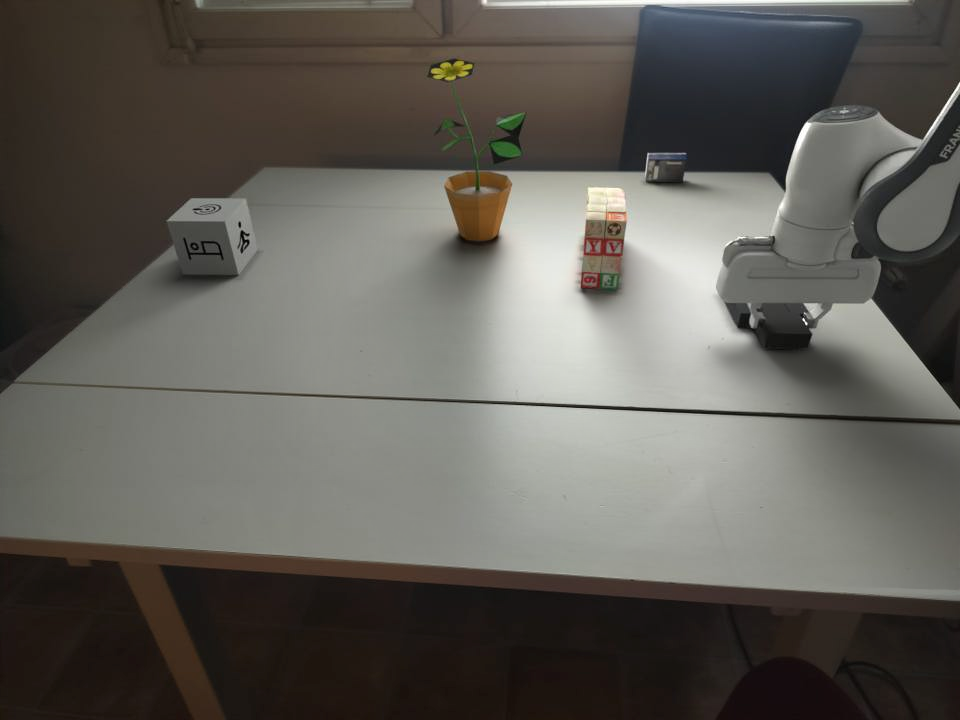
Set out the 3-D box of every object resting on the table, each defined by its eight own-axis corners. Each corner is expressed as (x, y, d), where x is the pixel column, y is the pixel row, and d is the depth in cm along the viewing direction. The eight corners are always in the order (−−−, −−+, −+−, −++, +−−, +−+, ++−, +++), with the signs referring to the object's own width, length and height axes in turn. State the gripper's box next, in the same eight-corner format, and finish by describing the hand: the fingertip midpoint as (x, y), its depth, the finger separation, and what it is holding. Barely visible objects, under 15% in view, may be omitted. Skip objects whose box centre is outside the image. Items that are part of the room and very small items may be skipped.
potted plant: (412, 233, 128) (397, 67, 111) (484, 207, 138) (482, 50, 121) (472, 264, 117) (466, 85, 100) (546, 233, 127) (553, 65, 110)
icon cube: (183, 274, 116) (166, 221, 111) (205, 249, 125) (191, 198, 119) (238, 275, 116) (224, 221, 110) (257, 249, 124) (245, 198, 118)
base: (783, 294, 107) (787, 280, 105) (806, 328, 98) (810, 313, 97) (720, 294, 107) (723, 280, 106) (737, 327, 99) (740, 313, 98)
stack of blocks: (584, 233, 127) (589, 170, 120) (617, 235, 126) (624, 171, 119) (580, 288, 110) (585, 218, 102) (618, 290, 109) (627, 220, 102)
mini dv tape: (645, 181, 148) (648, 155, 145) (644, 179, 150) (647, 152, 146) (682, 181, 148) (687, 155, 144) (681, 179, 149) (685, 152, 146)
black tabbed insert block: (786, 315, 100) (790, 300, 99) (807, 348, 93) (812, 333, 92) (746, 314, 101) (749, 300, 99) (764, 348, 93) (768, 333, 92)
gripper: (733, 247, 85) (713, 337, 93) (898, 247, 84) (864, 339, 92) (721, 226, 90) (703, 314, 98) (876, 226, 89) (845, 315, 97)
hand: (782, 326), depth 95 cm, fingers closed on black tabbed insert block, 6 cm apart
